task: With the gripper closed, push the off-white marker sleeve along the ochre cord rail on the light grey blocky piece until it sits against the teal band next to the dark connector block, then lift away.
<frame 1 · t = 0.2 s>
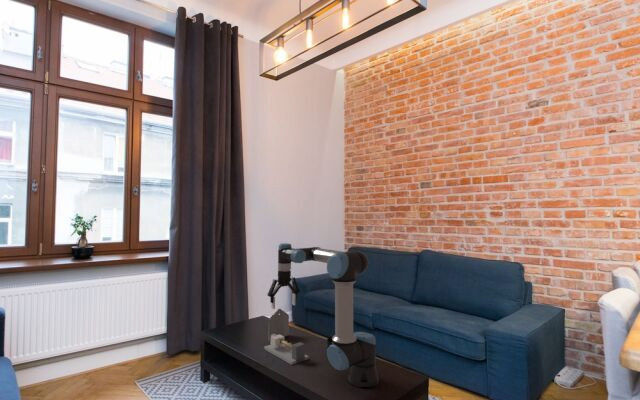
hand: (283, 306, 207), 28 cm above the table, fingers open, 13 cm apart
mug: (336, 356, 207), on the table
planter: (275, 336, 236), on the table
light grey blocky piece: (285, 353, 209), on the table
sleeve: (277, 340, 214), point 6 cm above the table, slide at 0.0 cm
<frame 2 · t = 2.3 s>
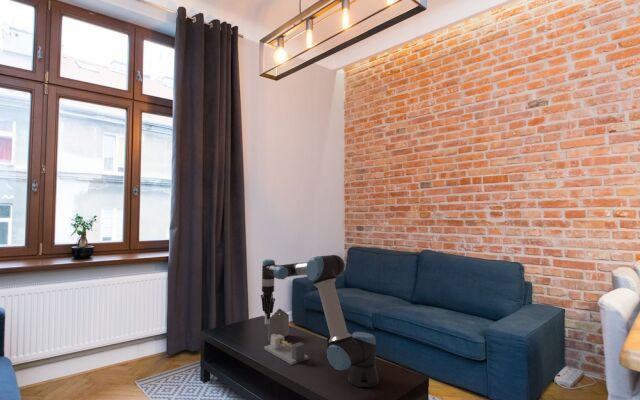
hand: (267, 323, 218), 14 cm above the table, fingers closed
nothing on the table moved.
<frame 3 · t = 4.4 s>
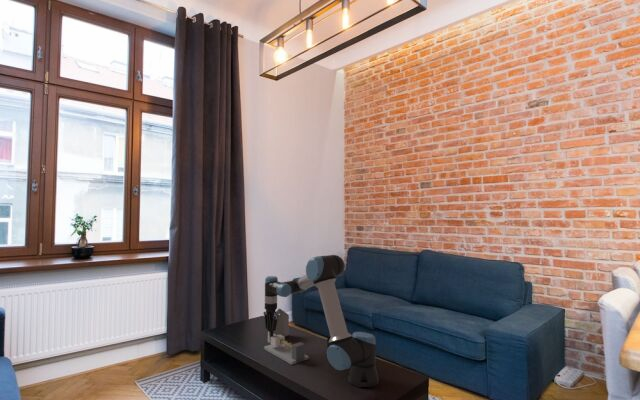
hand: (270, 341, 215), 5 cm above the table, fingers closed
sleeve: (277, 340, 213), point 6 cm above the table, slide at 0.2 cm, touching gripper
everything else where it was.
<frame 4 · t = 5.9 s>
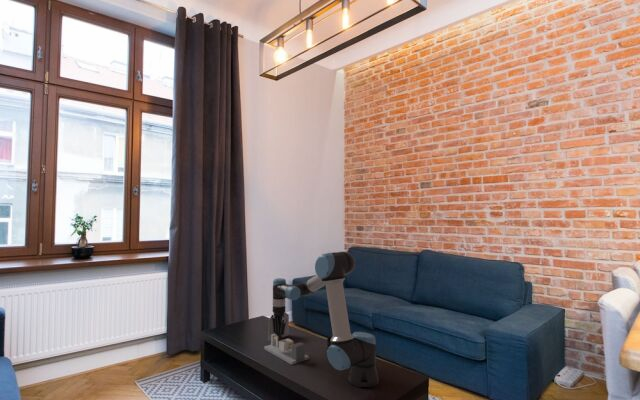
hand: (278, 345, 209), 5 cm above the table, fingers closed
sleeve: (286, 344, 207), point 6 cm above the table, slide at 8.8 cm, touching gripper
everything else where it was.
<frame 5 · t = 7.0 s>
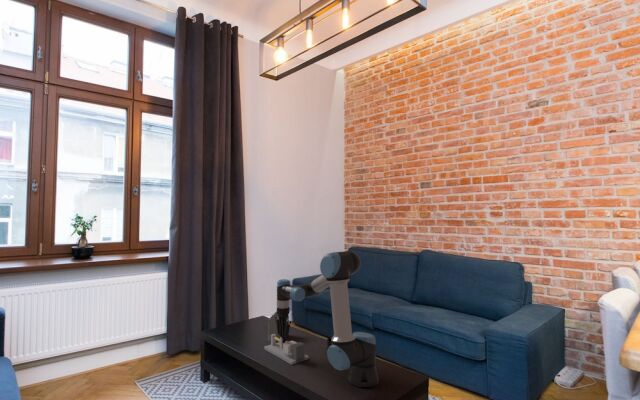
hand: (282, 347, 205), 5 cm above the table, fingers closed
sleeve: (290, 347, 204), point 6 cm above the table, slide at 12.9 cm, touching gripper
everything else where it was.
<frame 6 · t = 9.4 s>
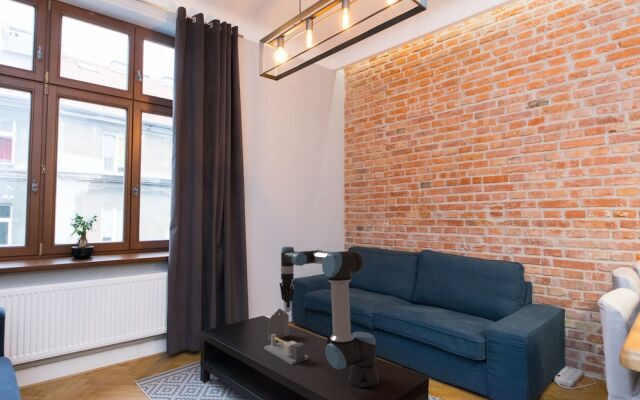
hand: (286, 312, 213), 23 cm above the table, fingers closed
sleeve: (290, 347, 204), point 6 cm above the table, slide at 13.1 cm
everything else where it was.
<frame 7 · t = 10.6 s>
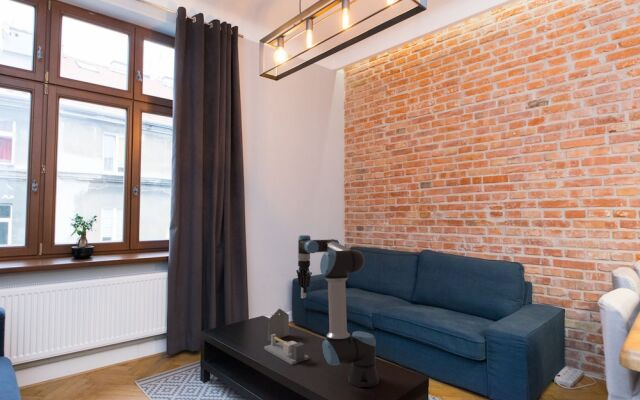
hand: (303, 297, 223), 29 cm above the table, fingers closed
nothing on the table moved.
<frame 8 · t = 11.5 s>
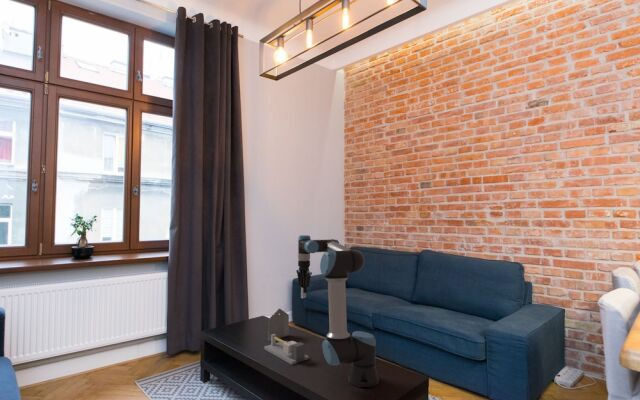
hand: (303, 297, 223), 29 cm above the table, fingers closed
nothing on the table moved.
at the end: sleeve slide at 13.1 cm; sleeve touching nothing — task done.
